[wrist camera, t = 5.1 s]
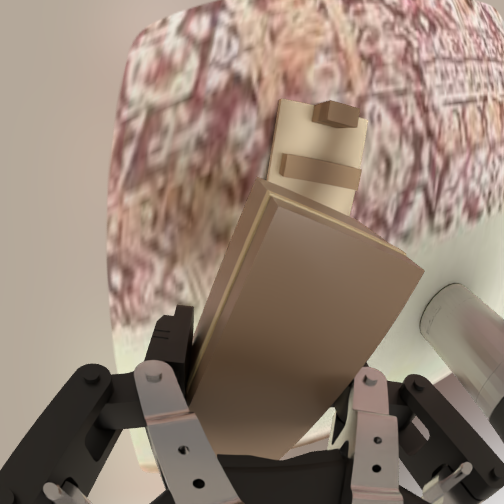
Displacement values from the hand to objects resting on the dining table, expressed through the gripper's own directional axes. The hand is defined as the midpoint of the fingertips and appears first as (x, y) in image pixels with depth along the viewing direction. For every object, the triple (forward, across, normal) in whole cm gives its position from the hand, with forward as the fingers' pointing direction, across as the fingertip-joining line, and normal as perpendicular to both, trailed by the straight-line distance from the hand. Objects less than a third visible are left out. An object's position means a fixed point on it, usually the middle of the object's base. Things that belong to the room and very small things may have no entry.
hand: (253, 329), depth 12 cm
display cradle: (+15, -6, -3) cm, 16 cm away
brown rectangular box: (+1, 0, 0) cm, 1 cm away
